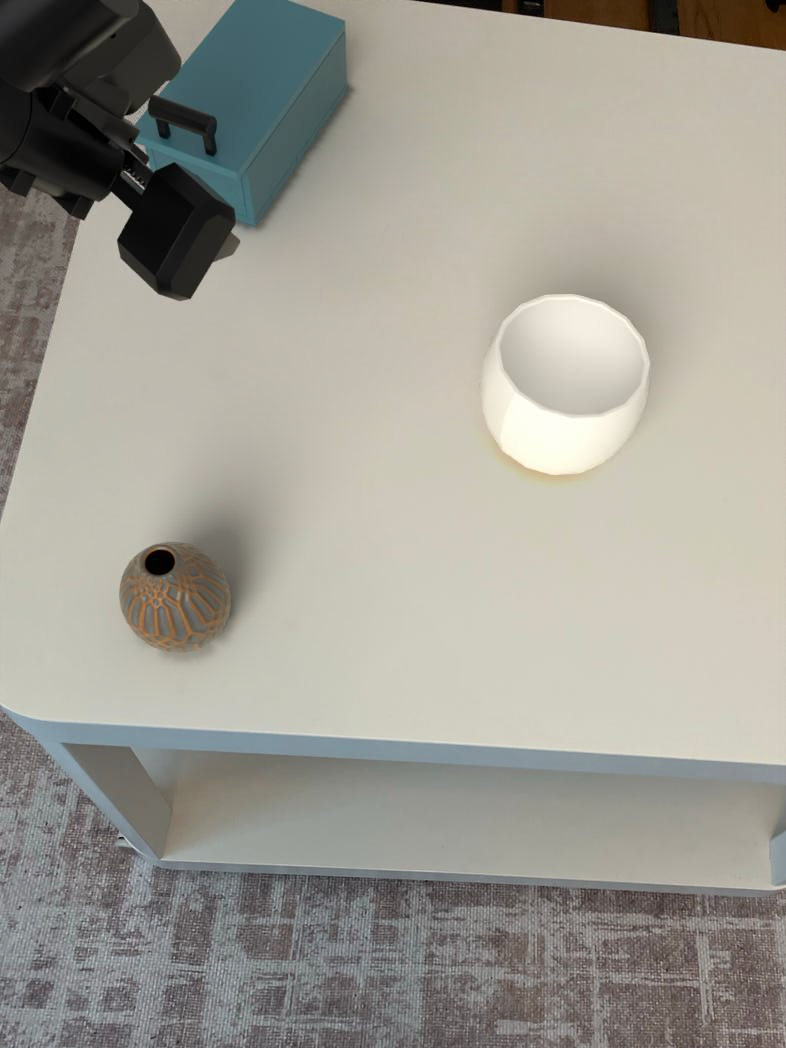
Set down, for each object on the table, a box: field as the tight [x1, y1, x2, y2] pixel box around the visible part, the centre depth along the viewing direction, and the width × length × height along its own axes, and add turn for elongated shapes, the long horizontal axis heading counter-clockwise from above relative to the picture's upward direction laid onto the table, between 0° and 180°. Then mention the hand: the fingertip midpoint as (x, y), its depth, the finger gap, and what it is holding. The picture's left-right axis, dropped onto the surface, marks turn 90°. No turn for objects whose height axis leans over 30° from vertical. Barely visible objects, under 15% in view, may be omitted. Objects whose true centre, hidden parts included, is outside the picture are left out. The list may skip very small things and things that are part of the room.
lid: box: [134, 0, 346, 181], centre depth 75 cm, size 21×9×4 cm, turn 159°
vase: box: [118, 541, 232, 654], centre depth 59 cm, size 7×7×9 cm
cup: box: [478, 293, 652, 476], centre depth 68 cm, size 12×12×10 cm
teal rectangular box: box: [144, 30, 348, 227], centre depth 79 cm, size 19×9×6 cm, turn 159°
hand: (189, 204), depth 60 cm, fingers open, 9 cm apart
